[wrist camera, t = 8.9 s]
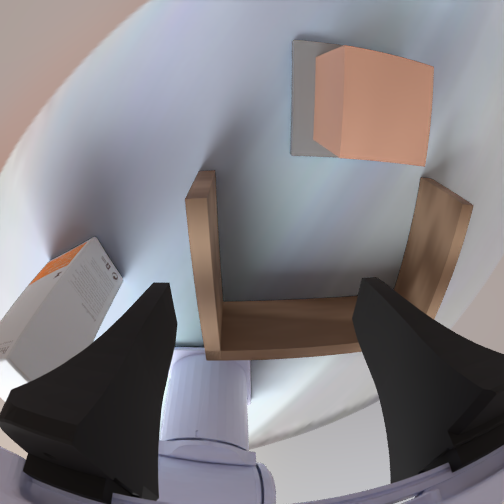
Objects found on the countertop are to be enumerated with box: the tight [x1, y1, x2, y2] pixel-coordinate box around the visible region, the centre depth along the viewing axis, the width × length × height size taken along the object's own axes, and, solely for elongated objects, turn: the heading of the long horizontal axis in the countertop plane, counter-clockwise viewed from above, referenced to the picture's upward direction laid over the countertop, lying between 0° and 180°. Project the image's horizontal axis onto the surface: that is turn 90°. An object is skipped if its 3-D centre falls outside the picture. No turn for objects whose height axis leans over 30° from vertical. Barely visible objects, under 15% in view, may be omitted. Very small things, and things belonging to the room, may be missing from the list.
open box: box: [185, 170, 473, 361], centre depth 18 cm, size 11×16×5 cm
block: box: [313, 45, 434, 167], centre depth 13 cm, size 5×4×5 cm
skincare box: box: [0, 237, 123, 402], centre depth 16 cm, size 6×4×12 cm
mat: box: [290, 40, 344, 158], centre depth 15 cm, size 7×7×1 cm
